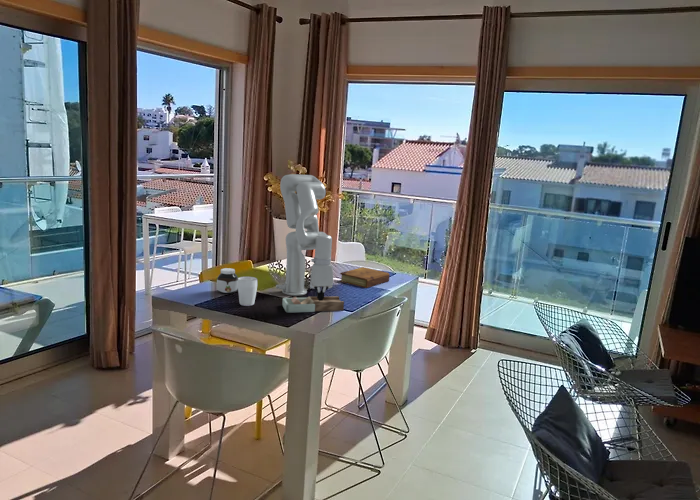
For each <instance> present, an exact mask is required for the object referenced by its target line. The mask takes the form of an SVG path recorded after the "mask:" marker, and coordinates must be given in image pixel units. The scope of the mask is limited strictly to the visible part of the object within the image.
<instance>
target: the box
mask: <svg viewBox="0 0 700 500" xmlns="http://www.w3.org/2000/svg"><path fill="white" fill-rule="evenodd" d="M292 298H293V297H283V298H282V304H281V305H282V307H283V309H284V311H285V312H286V313H315V312H316V311H315V304H294V303H293V302H292V300H291V299H292ZM296 298H297V299H298V300H299V301H300V302H302V301H304V300H305V299H306V298H307V297H296Z"/></svg>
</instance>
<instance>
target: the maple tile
mask: <svg viewBox="0 0 700 500" xmlns="http://www.w3.org/2000/svg"><path fill="white" fill-rule="evenodd" d="M310 297H311V296H308V297H305V298H306V299H305V300H304V301H302V302H301V304H314V301H313V300H312V299H311V298H310Z"/></svg>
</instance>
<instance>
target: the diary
mask: <svg viewBox="0 0 700 500" xmlns="http://www.w3.org/2000/svg"><path fill="white" fill-rule="evenodd" d="M339 274H340V275H341V277H340V278H341V280H339V282H340V283H344V284H347V283H348V285H352V286H357V287H360V288H365V289H368V288H372V287H374V286H379V285H381V283H382V284H384V283H385V284H386V283H387V282H390V273H389V272H386V271H383V270H377V269H373V268H367V267H365V266H364V267H363V266H362V267H357V268H355V269H350V270H346V271H343V272H340V273H339Z"/></svg>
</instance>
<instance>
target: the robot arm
mask: <svg viewBox="0 0 700 500" xmlns="http://www.w3.org/2000/svg"><path fill="white" fill-rule="evenodd" d="M279 187H280V194H281V196H282V198H283V203H284V208H285V209H284V210H285V218H286V225H287V227H288V228H290V229H291V230H292V229H293V230H295V231H291V232H290V231H289V232H288V233H287V234H286V236H285V245H286V246H285V249H286V268H285V282H283V284H275V288H276V289H279V290H281V291H282V293H283V294H284V295H288V296H294V297H297V296H304V295H306V294H307V293H308V291H307V289H306V288H305V277H306V276H305V275H306V257H305V255H304V253H303V251H310V250H312V251H314V257H313V258H311V262H312V267H311V270H310V278H309V279H310V280H309V288H310V289H314V290H316V292H317V293H316V297H317V299H318V300H319V301H323V299H324V297H325V293H326V291H327V290H328V289H333V284H334V269H333V268H334V267H333V264H331V263H332V247H333V245H332V244H333V238H332V236H331V235H329V234H327V233H326V232H324V231H320V228H319V227H320V226H319V219H318V216H317V214H319V211H320V210H319V206H318V202H317V200H323V199H324V198H325V197H326V186H325V185H324V183H323V182H322V181H321V180H320V179H319V178H317V177H316V176H314V175H312V174H297V173H294V174H292V173H291V174H285V175H284V176H282V178H281V179H280V185H279Z"/></svg>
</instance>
